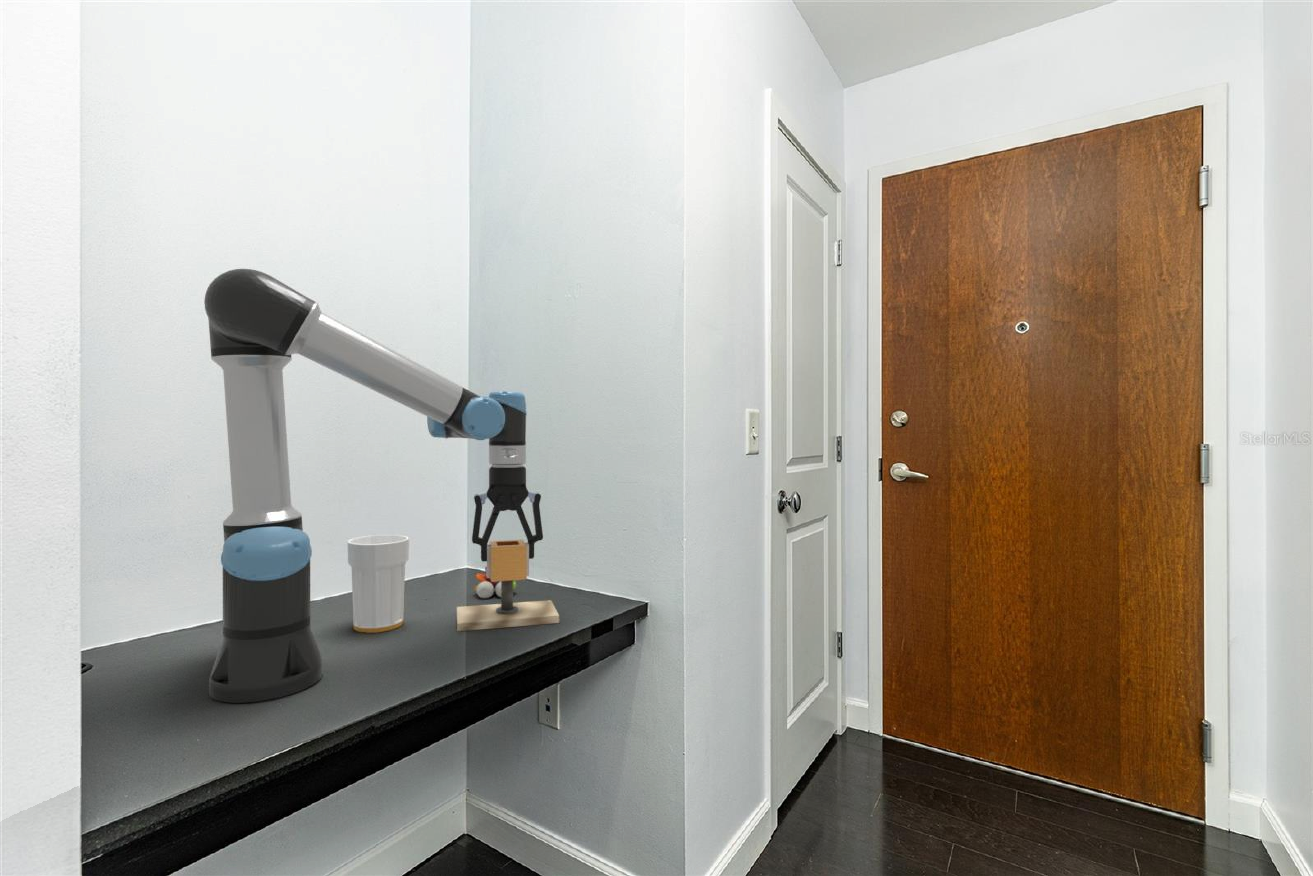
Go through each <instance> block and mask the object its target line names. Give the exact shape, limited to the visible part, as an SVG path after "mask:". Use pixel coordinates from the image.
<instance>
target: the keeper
mask: <svg viewBox="0 0 1313 876" xmlns="http://www.w3.org/2000/svg"><path fill="white" fill-rule="evenodd" d="M513 581H514V580H510V581H501V597H500V598H501V599H500V603H495V604H493V603H492V604H479V605H469V606H468V605H467V606H466V605H465V606H456V632H466V631H467V632H468V631H476V630H477V631H478V630H489V629H490V630H491V629H501V628H513V627H514V628H515V627H516V628H517V627H525V626H528V627H529V626H537V625H538V626H539V625H551V624H559V623H560V614H559V613H558V610H557V609H556V607H555V605H554V603H553V601H552V600H551V599H548V600H534V601H533V600H532V601H522V602H521V601H520V602H519V601H518V602H514V589H513Z"/></svg>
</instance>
